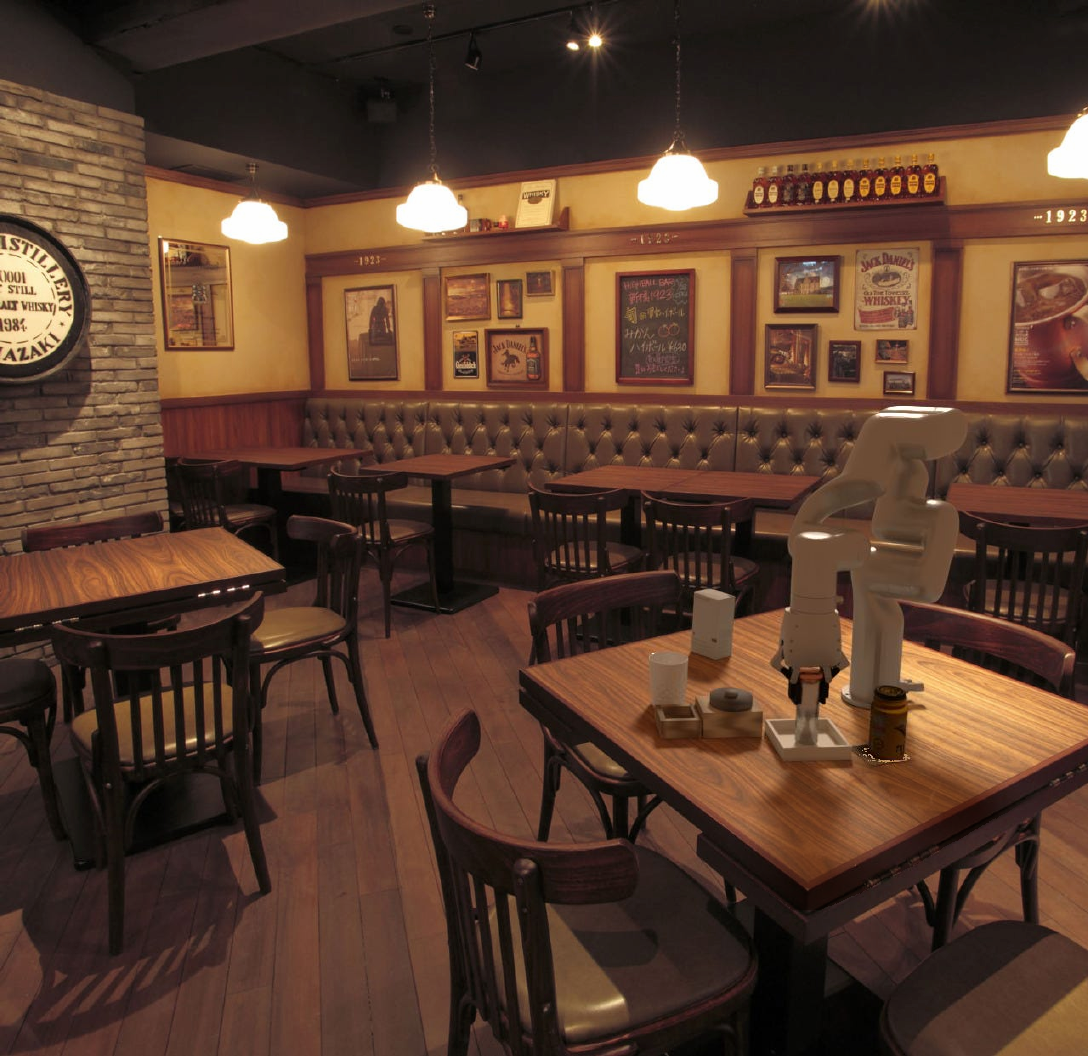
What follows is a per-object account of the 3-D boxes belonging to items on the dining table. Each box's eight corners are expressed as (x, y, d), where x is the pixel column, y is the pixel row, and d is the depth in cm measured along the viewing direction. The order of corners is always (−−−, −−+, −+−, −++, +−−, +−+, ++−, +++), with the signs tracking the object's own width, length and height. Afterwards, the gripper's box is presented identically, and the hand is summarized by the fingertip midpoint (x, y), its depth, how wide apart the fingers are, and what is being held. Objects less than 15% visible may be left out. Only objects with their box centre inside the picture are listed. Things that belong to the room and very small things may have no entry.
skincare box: (690, 651, 207) (691, 591, 204) (707, 646, 210) (708, 587, 207) (716, 661, 200) (718, 599, 197) (734, 655, 204) (735, 594, 201)
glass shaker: (815, 734, 159) (818, 666, 156) (823, 745, 154) (827, 676, 152) (788, 734, 159) (792, 667, 156) (796, 746, 154) (799, 676, 152)
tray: (828, 730, 163) (828, 717, 163) (851, 759, 151) (852, 746, 151) (764, 731, 163) (765, 719, 162) (782, 761, 151) (783, 748, 151)
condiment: (915, 760, 151) (920, 695, 148) (871, 766, 149) (875, 700, 147) (889, 742, 158) (893, 680, 155) (848, 748, 156) (851, 685, 154)
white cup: (686, 713, 172) (687, 665, 170) (646, 710, 173) (647, 663, 171) (688, 698, 179) (689, 652, 177) (650, 695, 181) (650, 650, 179)
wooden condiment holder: (751, 718, 169) (752, 682, 167) (762, 736, 161) (763, 699, 160) (654, 721, 169) (655, 685, 167) (661, 739, 161) (661, 701, 159)
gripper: (852, 596, 156) (846, 693, 159) (759, 598, 155) (755, 694, 159) (868, 608, 148) (862, 709, 152) (770, 610, 148) (766, 711, 151)
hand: (807, 700), depth 155 cm, fingers closed on glass shaker, 4 cm apart
